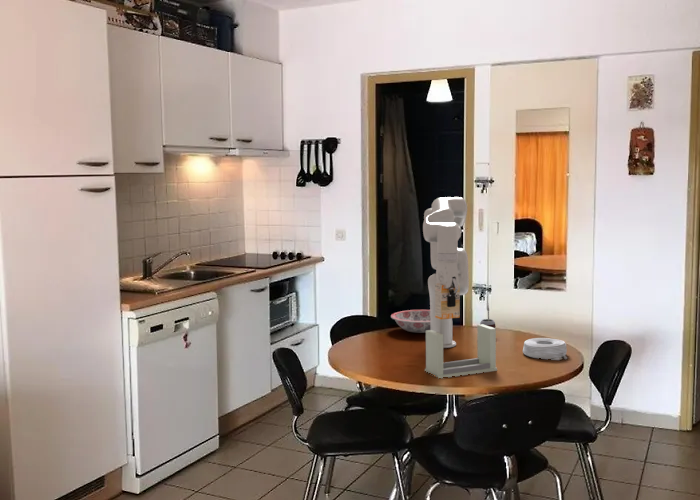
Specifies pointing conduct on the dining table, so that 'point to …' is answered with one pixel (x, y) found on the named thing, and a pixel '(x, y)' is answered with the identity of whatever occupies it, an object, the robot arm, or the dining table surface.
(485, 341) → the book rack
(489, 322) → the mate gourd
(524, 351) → the cable
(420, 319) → the ceramic bowl
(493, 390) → the dining table surface
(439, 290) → the supplement box
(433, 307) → the robot arm
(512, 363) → the dining table surface
